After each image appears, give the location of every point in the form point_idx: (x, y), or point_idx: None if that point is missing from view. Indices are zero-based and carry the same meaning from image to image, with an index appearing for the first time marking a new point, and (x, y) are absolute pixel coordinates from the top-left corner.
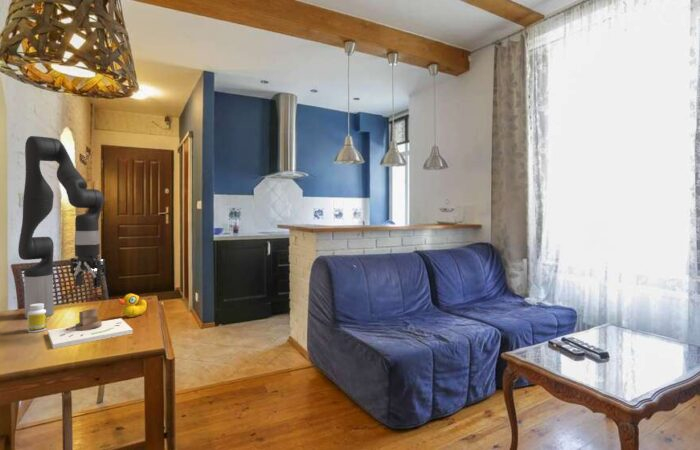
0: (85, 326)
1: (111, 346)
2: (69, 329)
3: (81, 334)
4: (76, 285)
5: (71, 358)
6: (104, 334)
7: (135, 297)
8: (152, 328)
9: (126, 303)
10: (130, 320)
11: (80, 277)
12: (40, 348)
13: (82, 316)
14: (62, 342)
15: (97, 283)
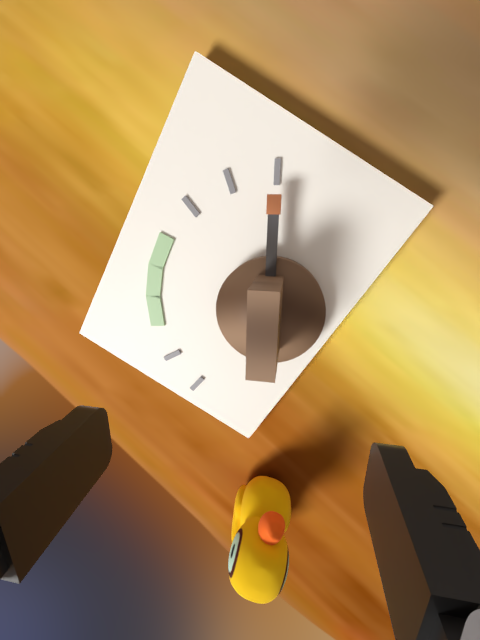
0: (240, 271)
1: (25, 187)
2: (267, 204)
3: (205, 215)
4: (396, 446)
5: (23, 12)
6: (116, 249)
7: (228, 570)
8: (79, 388)
9: (257, 524)
10: (232, 448)
11: (399, 597)
12: (264, 38)
13: (255, 284)
14: (178, 92)
15: (28, 447)
